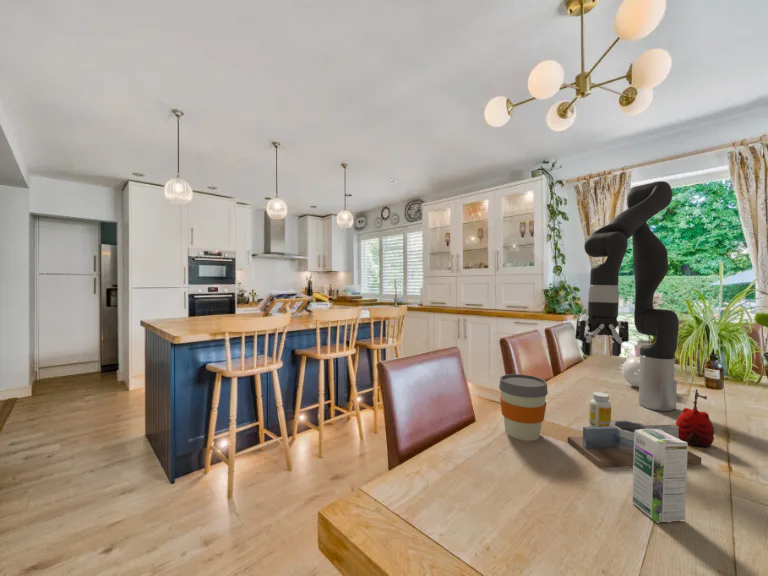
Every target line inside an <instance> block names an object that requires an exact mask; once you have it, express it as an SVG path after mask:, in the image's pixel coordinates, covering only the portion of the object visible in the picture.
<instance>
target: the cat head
mask: <svg viewBox="0 0 768 576" xmlns="http://www.w3.org/2000/svg"><path fill="white" fill-rule="evenodd" d="M619 366H620V367H619ZM619 366H617V367H616V368H617V369H621V371H617V373H621V374H622V377H623V378H624V380H625V381H626V382H627V383H628V384H629V385H631V386H633V387H636V388H638V389H639V369H640V356H634V355H632V354H630V353H628V354H627V355H626V360H625V362H624V363H623V364H619ZM621 366H622V367H621Z"/></svg>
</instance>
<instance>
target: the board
mask: <svg viewBox="0 0 768 576" xmlns="http://www.w3.org/2000/svg"><path fill="white" fill-rule="evenodd" d="M567 444H569V445H570V446H571V447H572V448H574V449H575V450H576V451H578V452H579V453H580V454H582V455H583V456H584V457H585V458H587V459H588V460H589V461H590V462H591V463H593V464H594V465H595V466H597V467H598V468H625V466H630V467H633V464H634V455H633V454H629V453H626V452H622V451H619V450H618V449H616V448H612V449H585V448H584V447H583V435H582V436H567ZM687 464H692V465H702V457H700V456H699V455H697V454H695V453H693V452H691V451H689V450H688V454H687Z"/></svg>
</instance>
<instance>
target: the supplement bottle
mask: <svg viewBox="0 0 768 576" xmlns="http://www.w3.org/2000/svg"><path fill="white" fill-rule="evenodd" d="M588 419H589V420H588V423H589V426H590V427H604V426H609V424H610V422H611V420H612V403H610V395H609V394H608V393H605V392H600V391H593V393H592V399H590V401H589V417H588Z"/></svg>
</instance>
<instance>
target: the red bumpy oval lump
mask: <svg viewBox="0 0 768 576" xmlns="http://www.w3.org/2000/svg"><path fill="white" fill-rule="evenodd" d="M698 391H699V390H698V389H695V390H694V389H693V393H694V401H693V405H694V406H693V408H692V409H690V408H689V407H684V408H683V409H682V412H681V413H680V414H679V416H678V417H677V418H676V422H675V425H676V426H678V427H679V428H678V439H680V440H682V441H685V442H687V443H688V445H691V446H694V447H699V448H708V447H710V446H712V444H713V443H714V440H715V437H714V435H715V428H714V425H713V423H712V421H711V419H710V417H709V413H707V412H706V411H700V410H698V407H697V404H698V398H702V399H703V400H706V401H707V400H708V398H707V397H708V396H707V395H701V394H700V393H699V392H698Z"/></svg>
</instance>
